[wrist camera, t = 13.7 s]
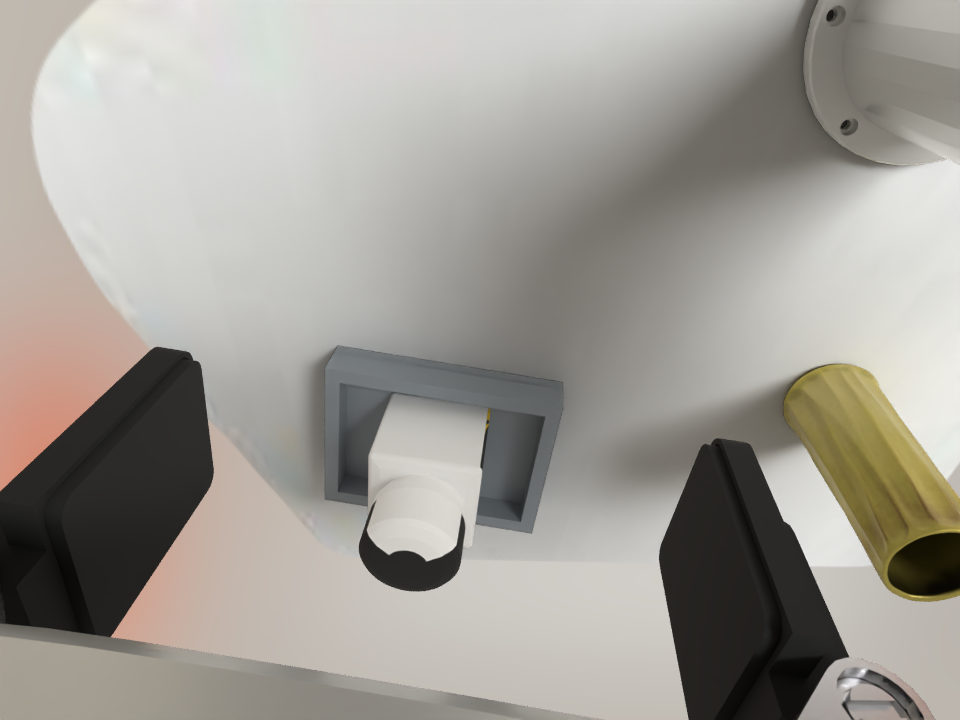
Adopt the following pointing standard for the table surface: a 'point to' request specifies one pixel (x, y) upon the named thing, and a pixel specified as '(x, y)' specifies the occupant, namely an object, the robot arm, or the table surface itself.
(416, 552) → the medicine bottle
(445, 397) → the tray
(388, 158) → the table surface
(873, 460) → the vase
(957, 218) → the table surface
